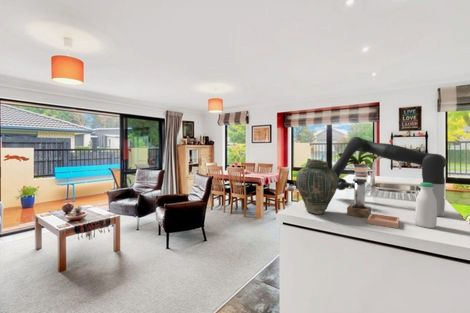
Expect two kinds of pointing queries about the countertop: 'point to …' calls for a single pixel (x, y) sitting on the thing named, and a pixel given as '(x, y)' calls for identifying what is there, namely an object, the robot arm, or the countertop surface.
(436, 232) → the countertop surface
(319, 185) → the vase
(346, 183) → the robot arm
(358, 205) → the clear bottle
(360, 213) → the socket block
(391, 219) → the dish
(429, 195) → the milk bottle
